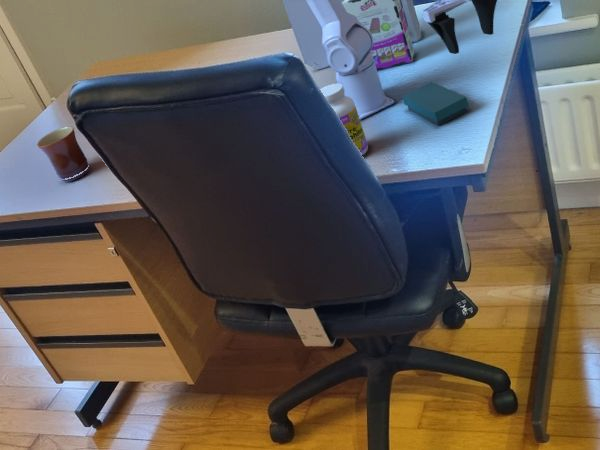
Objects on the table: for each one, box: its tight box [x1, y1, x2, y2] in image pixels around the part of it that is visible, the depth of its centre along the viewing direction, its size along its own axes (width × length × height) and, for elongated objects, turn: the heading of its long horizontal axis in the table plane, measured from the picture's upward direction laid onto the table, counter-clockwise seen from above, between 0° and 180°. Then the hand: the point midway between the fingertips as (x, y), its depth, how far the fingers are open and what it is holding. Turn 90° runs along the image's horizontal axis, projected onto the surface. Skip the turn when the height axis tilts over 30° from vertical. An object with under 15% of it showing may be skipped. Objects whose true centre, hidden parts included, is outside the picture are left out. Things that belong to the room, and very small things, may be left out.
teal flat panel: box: [401, 81, 469, 127], centre depth 141 cm, size 12×6×3 cm, turn 22°
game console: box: [281, 0, 422, 70], centre depth 176 cm, size 6×27×20 cm, turn 83°
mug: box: [36, 126, 90, 183], centre depth 176 cm, size 12×9×10 cm
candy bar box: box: [342, 0, 416, 71], centre depth 165 cm, size 11×5×16 cm, turn 76°
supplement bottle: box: [319, 83, 369, 156], centre depth 136 cm, size 7×7×13 cm
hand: (471, 43), depth 137 cm, fingers open, 7 cm apart
